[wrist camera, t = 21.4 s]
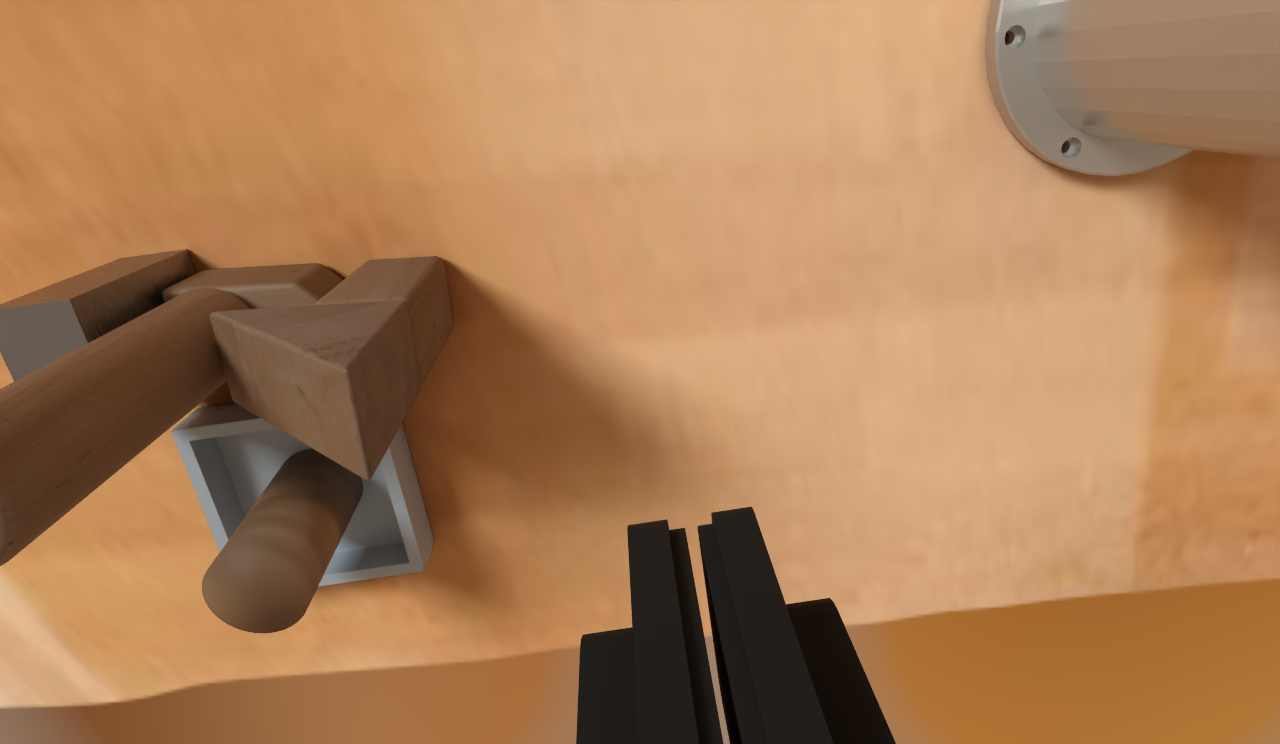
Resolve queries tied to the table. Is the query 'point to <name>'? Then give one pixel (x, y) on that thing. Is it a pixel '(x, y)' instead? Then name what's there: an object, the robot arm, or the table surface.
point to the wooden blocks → (226, 376)
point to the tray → (252, 455)
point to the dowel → (283, 545)
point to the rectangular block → (85, 308)
